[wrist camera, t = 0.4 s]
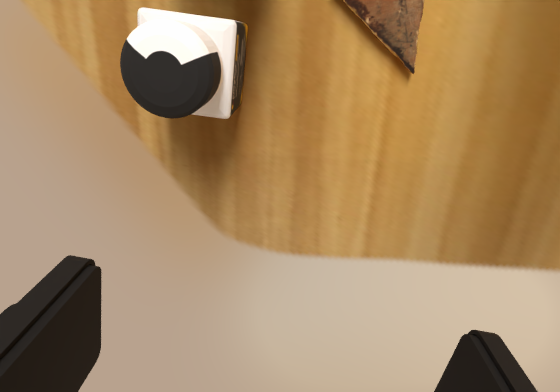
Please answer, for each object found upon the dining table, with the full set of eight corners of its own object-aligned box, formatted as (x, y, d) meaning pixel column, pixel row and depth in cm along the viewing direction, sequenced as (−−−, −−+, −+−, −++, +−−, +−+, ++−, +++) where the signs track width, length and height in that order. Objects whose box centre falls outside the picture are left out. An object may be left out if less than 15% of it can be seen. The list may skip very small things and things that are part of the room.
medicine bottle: (241, 105, 36) (217, 135, 25) (167, 95, 36) (109, 121, 25) (248, 23, 33) (224, 16, 22) (168, 12, 33) (102, 0, 22)
